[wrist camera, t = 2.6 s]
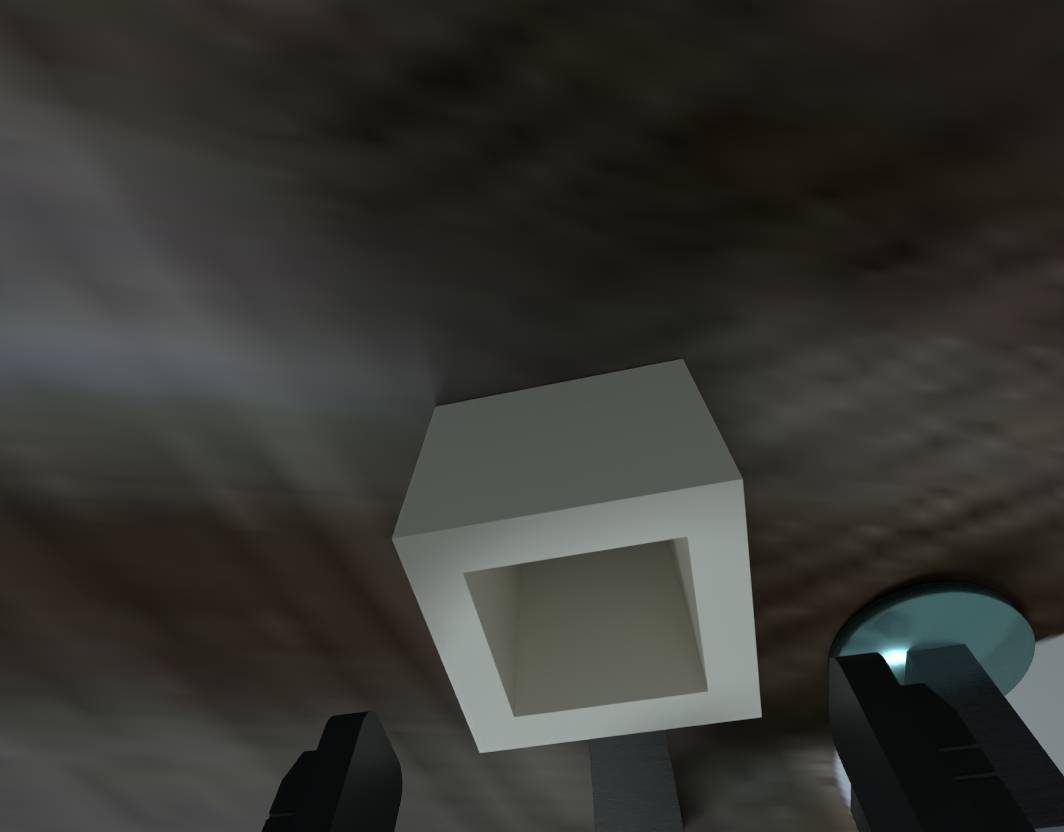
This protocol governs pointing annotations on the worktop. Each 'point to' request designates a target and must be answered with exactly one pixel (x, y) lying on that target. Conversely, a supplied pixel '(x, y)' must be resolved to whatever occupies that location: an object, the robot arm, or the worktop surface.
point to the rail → (645, 785)
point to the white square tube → (584, 560)
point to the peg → (967, 676)
